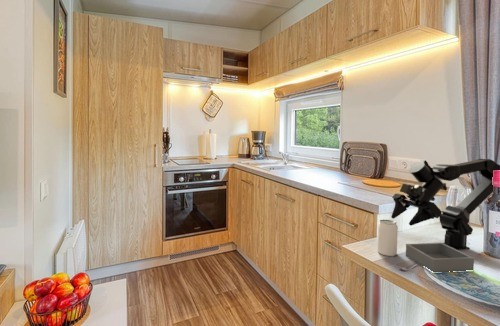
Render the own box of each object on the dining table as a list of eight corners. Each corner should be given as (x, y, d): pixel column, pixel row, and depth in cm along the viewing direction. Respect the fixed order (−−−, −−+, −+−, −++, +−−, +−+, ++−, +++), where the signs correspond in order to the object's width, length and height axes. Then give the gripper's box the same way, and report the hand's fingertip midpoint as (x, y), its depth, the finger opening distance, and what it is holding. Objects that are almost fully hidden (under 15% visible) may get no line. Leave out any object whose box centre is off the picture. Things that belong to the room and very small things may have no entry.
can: (399, 257, 100) (400, 224, 99) (380, 256, 101) (380, 223, 100) (393, 250, 106) (394, 219, 105) (375, 249, 107) (376, 218, 106)
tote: (440, 254, 102) (441, 242, 101) (473, 271, 88) (474, 258, 88) (405, 255, 101) (406, 243, 100) (433, 273, 87) (433, 259, 87)
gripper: (397, 173, 112) (372, 201, 111) (435, 179, 94) (406, 213, 93) (413, 191, 114) (388, 219, 113) (454, 201, 96) (425, 234, 95)
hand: (400, 221), depth 104 cm, fingers open, 9 cm apart
